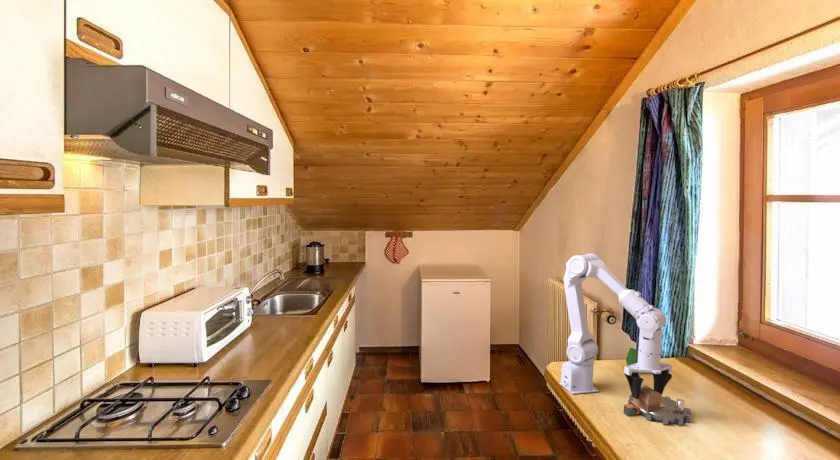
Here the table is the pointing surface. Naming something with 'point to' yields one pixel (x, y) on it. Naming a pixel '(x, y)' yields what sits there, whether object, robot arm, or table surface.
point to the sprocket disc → (666, 411)
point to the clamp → (632, 357)
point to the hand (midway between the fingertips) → (646, 396)
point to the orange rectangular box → (629, 410)
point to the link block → (648, 399)
